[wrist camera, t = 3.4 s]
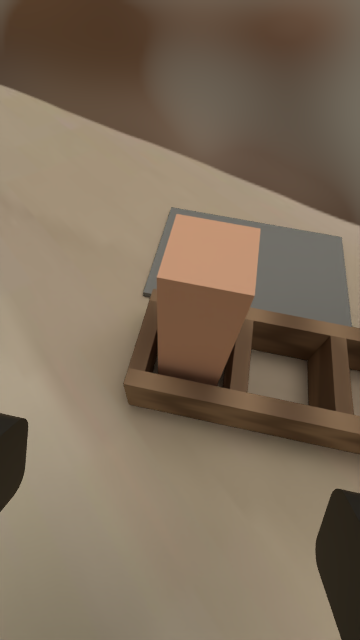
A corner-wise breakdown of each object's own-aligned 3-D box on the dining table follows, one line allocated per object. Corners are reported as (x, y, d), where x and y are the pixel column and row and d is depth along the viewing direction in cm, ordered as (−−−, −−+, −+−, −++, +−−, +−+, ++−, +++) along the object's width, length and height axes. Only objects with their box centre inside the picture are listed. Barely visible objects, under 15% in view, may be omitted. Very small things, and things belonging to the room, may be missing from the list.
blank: (218, 349, 28) (260, 228, 17) (211, 397, 26) (254, 295, 14) (169, 340, 29) (176, 213, 17) (158, 386, 26) (156, 277, 14)
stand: (401, 367, 28) (438, 343, 25) (420, 467, 24) (470, 457, 20) (153, 318, 30) (153, 288, 26) (128, 404, 25) (123, 383, 21)
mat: (339, 241, 37) (341, 237, 36) (349, 335, 30) (352, 332, 29) (171, 211, 38) (171, 207, 38) (143, 295, 31) (143, 292, 31)
